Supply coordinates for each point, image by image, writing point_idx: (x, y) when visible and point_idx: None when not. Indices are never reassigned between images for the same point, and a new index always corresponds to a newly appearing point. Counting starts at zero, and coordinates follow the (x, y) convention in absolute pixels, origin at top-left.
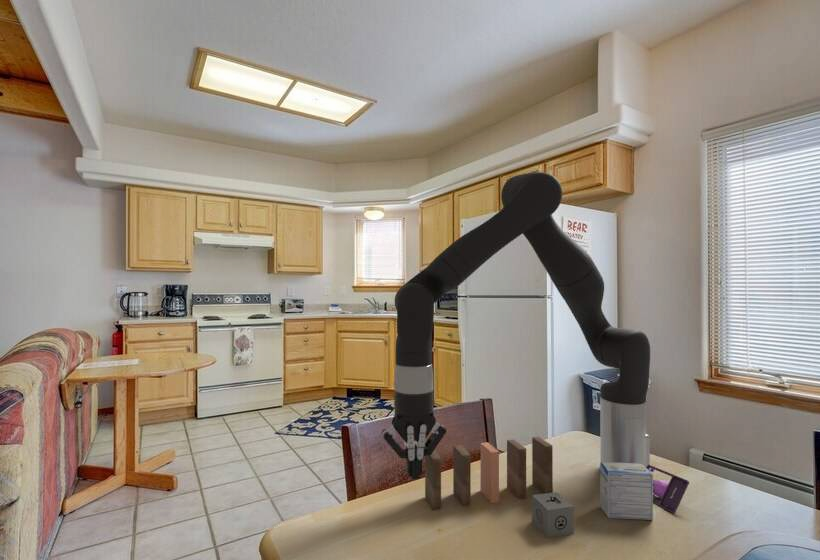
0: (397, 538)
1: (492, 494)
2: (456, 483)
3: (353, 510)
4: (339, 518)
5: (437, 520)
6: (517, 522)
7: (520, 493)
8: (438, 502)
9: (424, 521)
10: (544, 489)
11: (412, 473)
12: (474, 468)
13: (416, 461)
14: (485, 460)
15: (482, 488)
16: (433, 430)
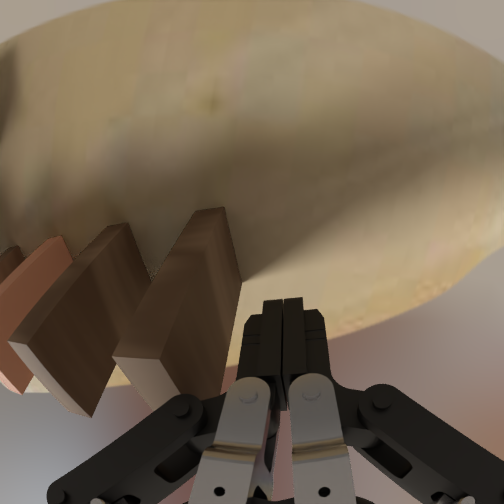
0: (370, 74)
1: (45, 248)
2: (125, 299)
3: (461, 251)
4: (497, 220)
5: (212, 158)
6: (16, 151)
7: (7, 253)
8: (195, 224)
9: (260, 156)
10: None
11: (301, 317)
12: (115, 373)
13: (275, 370)
14: None
15: None
16: None
